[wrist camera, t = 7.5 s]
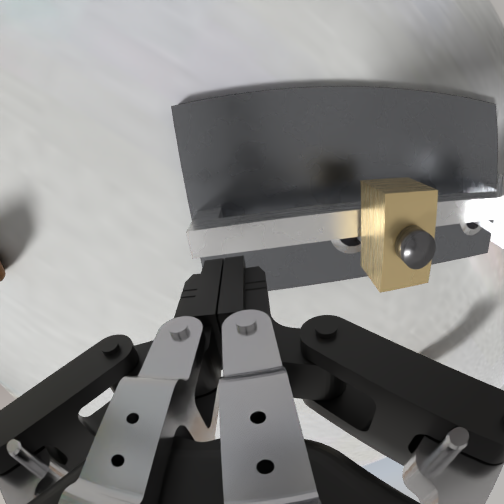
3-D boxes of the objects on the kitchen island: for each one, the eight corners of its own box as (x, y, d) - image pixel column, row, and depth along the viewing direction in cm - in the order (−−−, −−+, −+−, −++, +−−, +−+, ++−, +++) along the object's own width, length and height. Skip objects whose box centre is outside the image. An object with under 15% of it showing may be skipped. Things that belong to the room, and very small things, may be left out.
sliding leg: (339, 169, 18) (395, 199, 11) (380, 166, 17) (450, 195, 10) (342, 241, 20) (387, 303, 13) (380, 236, 20) (437, 292, 12)
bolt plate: (174, 107, 17) (170, 106, 16) (488, 103, 16) (496, 104, 15) (211, 291, 23) (209, 299, 22) (481, 248, 22) (488, 253, 21)
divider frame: (192, 186, 18) (157, 229, 11) (494, 164, 18) (562, 190, 10) (206, 255, 21) (187, 330, 13) (489, 218, 20) (550, 256, 12)
